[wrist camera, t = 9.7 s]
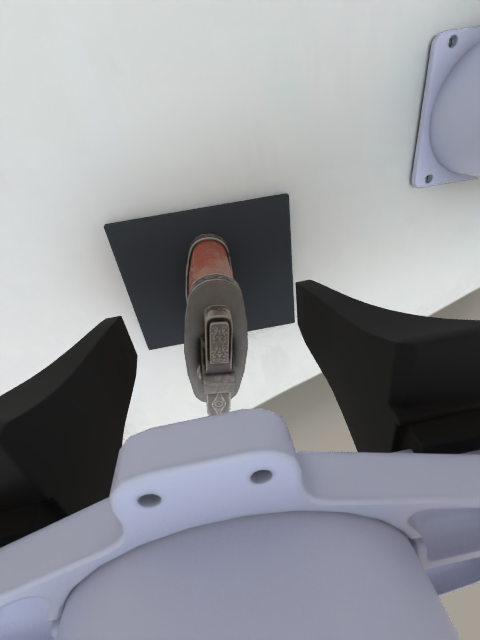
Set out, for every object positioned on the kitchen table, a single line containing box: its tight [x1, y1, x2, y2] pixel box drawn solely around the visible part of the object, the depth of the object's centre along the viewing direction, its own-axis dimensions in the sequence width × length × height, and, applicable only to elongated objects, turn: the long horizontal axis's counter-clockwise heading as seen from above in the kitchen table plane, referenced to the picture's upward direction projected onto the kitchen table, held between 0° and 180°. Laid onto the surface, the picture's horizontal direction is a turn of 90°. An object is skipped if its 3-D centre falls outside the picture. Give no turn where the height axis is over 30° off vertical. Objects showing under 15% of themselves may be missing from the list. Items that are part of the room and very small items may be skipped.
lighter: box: [184, 234, 248, 416], centre depth 19 cm, size 8×3×10 cm, turn 178°
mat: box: [104, 194, 295, 350], centre depth 23 cm, size 12×10×1 cm
